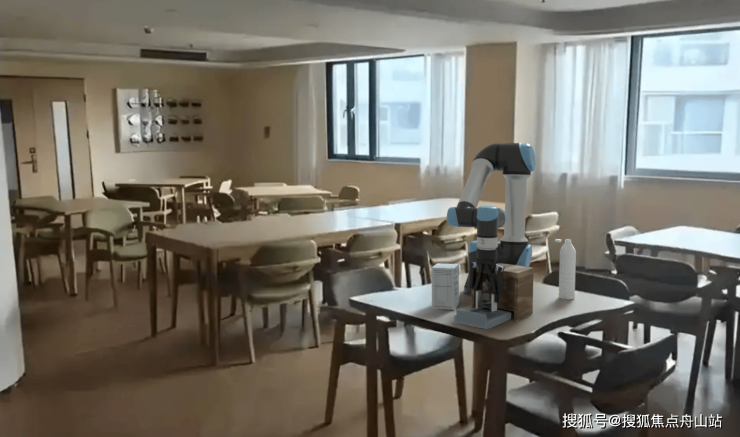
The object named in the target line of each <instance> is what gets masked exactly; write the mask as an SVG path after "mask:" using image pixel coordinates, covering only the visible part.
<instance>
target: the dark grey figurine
mask: <svg viewBox="0 0 740 437" xmlns="http://www.w3.org/2000/svg"><path fill="white" fill-rule="evenodd" d="M490 292H491V291H490V282H488V281H487V279H486V281H485V282H483V290H482V299H481V300H479V301H478V302H479V304H480V306H481V307H482V308H481V309H479V311H481V312H492V311H491V305H492V300H491V297H490Z"/></svg>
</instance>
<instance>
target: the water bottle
mask: <svg viewBox="0 0 740 437" xmlns="http://www.w3.org/2000/svg"><path fill="white" fill-rule="evenodd" d="M554 241H555V243H561V242H562V239H559V238H555V239H554ZM572 243H573V242H572V239H571V238H565V241H564V243H563V244H562V245H561V248H560V249H559V267H558V268H559V269H558V270H559V271H558V272H559V274H558V282H559V283H558V299H560V298H561V300H565V301H566V300H567V301H568V300H569V301H571V300H575V298H576V295H575V294H576V293H575V292H576V262H577V261H576V258H577V250H576V248H575V247H574V245H573V244H572Z"/></svg>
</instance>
